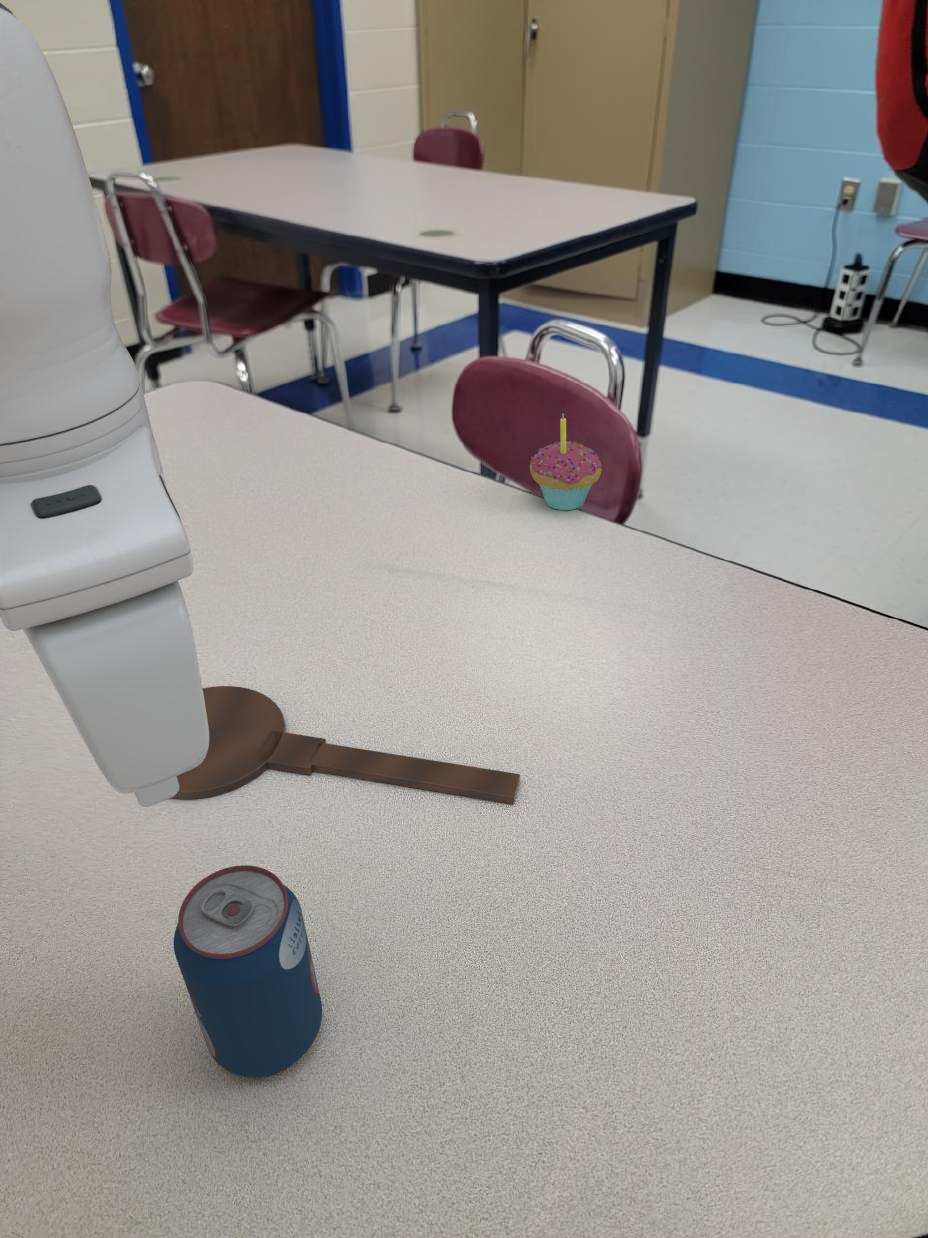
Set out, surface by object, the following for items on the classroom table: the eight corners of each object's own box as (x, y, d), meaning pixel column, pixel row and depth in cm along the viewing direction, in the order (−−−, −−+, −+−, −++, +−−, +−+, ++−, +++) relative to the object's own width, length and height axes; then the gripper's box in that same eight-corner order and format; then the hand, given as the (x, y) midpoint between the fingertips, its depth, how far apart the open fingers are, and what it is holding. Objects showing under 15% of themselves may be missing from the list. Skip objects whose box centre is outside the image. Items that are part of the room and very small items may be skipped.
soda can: (347, 1008, 56) (324, 884, 49) (277, 1110, 51) (241, 988, 44) (258, 963, 59) (225, 839, 52) (185, 1055, 54) (137, 932, 47)
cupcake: (590, 522, 105) (596, 425, 98) (520, 512, 107) (520, 417, 100) (605, 489, 111) (612, 395, 104) (538, 480, 113) (540, 388, 106)
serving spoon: (96, 785, 72) (94, 778, 72) (176, 683, 83) (174, 676, 82) (499, 857, 65) (499, 850, 65) (532, 736, 75) (532, 729, 75)
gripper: (-78, 404, 41) (17, 645, 49) (0, 620, 27) (116, 909, 35) (65, 374, 44) (133, 607, 52) (204, 556, 30) (269, 839, 38)
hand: (127, 731), depth 43 cm, fingers open, 8 cm apart
